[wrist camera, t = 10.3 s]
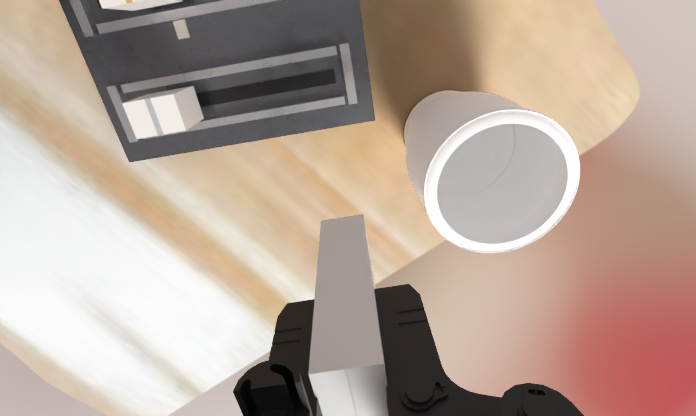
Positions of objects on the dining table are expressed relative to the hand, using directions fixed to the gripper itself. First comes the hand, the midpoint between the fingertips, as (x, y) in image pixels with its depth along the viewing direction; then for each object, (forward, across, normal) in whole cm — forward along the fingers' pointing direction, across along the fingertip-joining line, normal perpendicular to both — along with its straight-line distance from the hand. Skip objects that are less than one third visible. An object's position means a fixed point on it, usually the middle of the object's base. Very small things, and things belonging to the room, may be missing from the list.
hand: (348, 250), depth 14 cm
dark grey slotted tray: (+26, -9, +8) cm, 29 cm away
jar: (+27, +10, -4) cm, 29 cm away
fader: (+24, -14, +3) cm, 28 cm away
